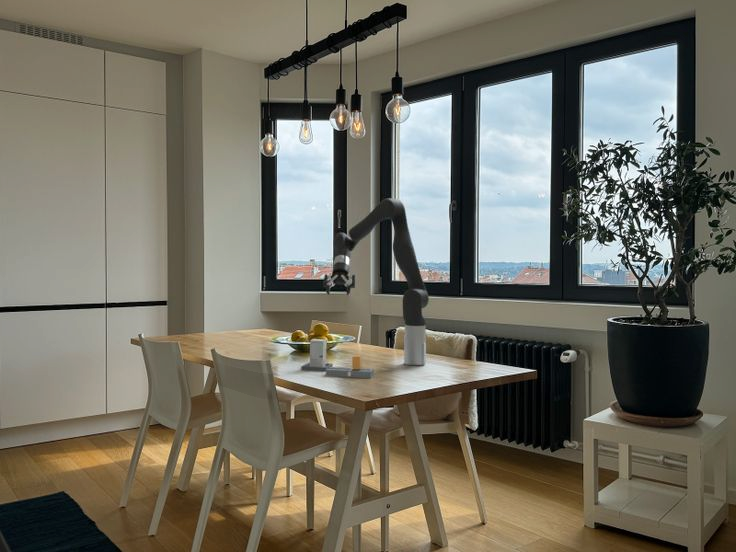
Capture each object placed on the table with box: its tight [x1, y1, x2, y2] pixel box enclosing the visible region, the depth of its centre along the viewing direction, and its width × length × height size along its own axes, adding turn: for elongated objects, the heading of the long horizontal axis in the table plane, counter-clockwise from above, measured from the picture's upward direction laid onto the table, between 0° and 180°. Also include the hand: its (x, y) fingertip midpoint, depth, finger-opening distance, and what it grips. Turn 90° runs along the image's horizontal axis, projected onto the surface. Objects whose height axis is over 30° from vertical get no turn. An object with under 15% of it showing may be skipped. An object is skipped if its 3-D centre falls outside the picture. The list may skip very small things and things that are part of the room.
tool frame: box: [300, 362, 334, 372], centre depth 272 cm, size 11×11×2 cm
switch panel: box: [325, 366, 375, 379], centre depth 257 cm, size 18×7×3 cm, turn 78°
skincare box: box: [308, 338, 328, 367], centre depth 272 cm, size 6×4×12 cm
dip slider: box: [351, 354, 363, 370], centre depth 256 cm, size 3×4×5 cm
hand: (337, 293), depth 287 cm, fingers open, 8 cm apart
